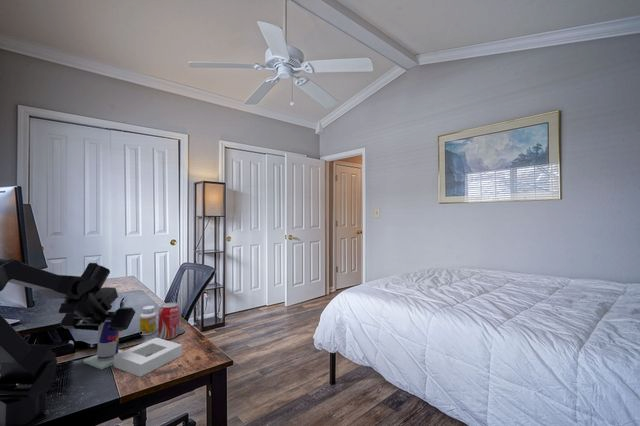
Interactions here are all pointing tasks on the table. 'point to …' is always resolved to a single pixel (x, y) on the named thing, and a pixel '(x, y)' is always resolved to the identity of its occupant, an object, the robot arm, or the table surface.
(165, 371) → the table surface
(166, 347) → the well board
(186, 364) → the table surface
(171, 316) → the soda can
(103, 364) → the pad
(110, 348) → the energy drink
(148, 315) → the supplement bottle
